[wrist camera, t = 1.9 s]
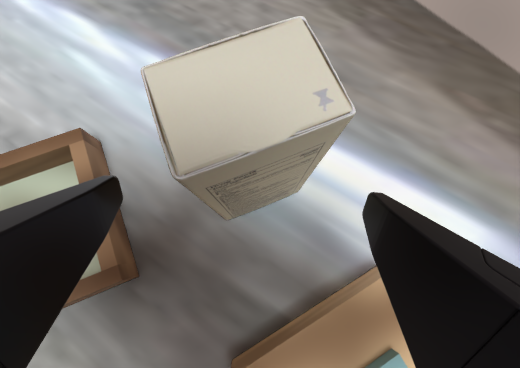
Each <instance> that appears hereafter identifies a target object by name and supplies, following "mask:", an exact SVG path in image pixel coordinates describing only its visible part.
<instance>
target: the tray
mask: <svg viewBox="0 0 520 368" xmlns="http://www.w3.org/2000/svg"><path fill="white" fill-rule="evenodd" d="M104 175H107V176H110V173H109V170H108V166H107V163H106V159H105V156H104V152H103V149H102V145H101V142H100V141H98V140H97V139H95V138H94V137H93V136H91V135H90V134H88V133H87V132H86V131H84V130H83V129H81V128H78V129H75V130H72V131H69V132H66V133H63V134H60V135H57V136H54V137H51V138H48V139H45V140H42V141H39V142H36V143H33V144H30V145H27V146H24V147H21V148H18V149H15V150H12V151H9V152H6V153H3V154H0V211H2V210H5V209H8V208H10V207H13V206H16V205H19V204H22V203H25V202H28V201H31V200H34V199H37V198H40V197H42V196H45V195H48V194H51V193H54V192H57V191H60V190H63V189H66V188H69V187H72V186H74V185H77V184H80V183H83V182H86V181H89V180H92V179H95V178H98V177H101V176H104ZM136 277H139V274H138V270H137V267H136V263H135V260H134V256H133V253H132V249H131V246H130V242H129V239H128V235H127V232H126V229H125V225H124V222H123V218H122V215H121V211H120V208H119V210H118V212H117V214H116V217H115V219H114V221H113V223H112V225H111V227H110V230H109V232H108V234H107V236H106V238H105V239H104V241H103V243H102V244H101V246H100V248H99V249H98V251H97V253H96V254H95V256H94V258H93V259H92V261H91V262H90V264H89V266H88V267H87V269H86V271H85V272H84V274H83V276H82V277H81V279H80V280H79V282H78V284H77V285H76V287H75V289H74V290H73V292H72V294H71V295H70V297H69V298H68V300H67V302H66V303H65V305H64V307H63V308H65V307H67V306H70V305H72V304H74V303H77V302H79V301H82V300H84V299H86V298H89V297H91V296H94V295H96V294H98V293H101V292H103V291H105V290H108V289H110V288H113V287H115V286H117V285H120V284H122V283H125V282H127V281H129V280H132V279H134V278H136ZM63 308H62V309H63Z"/></svg>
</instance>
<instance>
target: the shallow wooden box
mask: <svg viewBox="0 0 520 368" xmlns="http://www.w3.org/2000/svg"><path fill="white" fill-rule="evenodd" d="M231 368H415V365H414V362H413V360H412V357H411V355H410V352H409V349H408V347H407V344H406V341H405V339H404V336H403V334H402V331H401V328H400V326H399V323H398V320H397V318H396V315H395V313H394V310H393V307H392V305H391V302H390V299H389V297H388V294H387V292H386V289H385V286H384V284H383V281H382V279H381V276H380V273H379V271H378V268H377V266H376V267H374V268H373V269H371V270H370V271H368V272H367V273H365V274H364V275H362V276H360V277H359V278H357V279H356V280H354V281H353V282H351V283H350V284H348V285H347V286H345V287H344V288H342V289H340V290H339V291H337V292H336V293H334V294H333V295H331V296H330V297H328V298H327V299H325V300H324V301H322V302H321V303H319V304H317V305H316V306H314V307H313V308H311V309H310V310H308V311H307V312H305V313H304V314H302V315H301V316H299V317H297V318H296V319H294V320H293V321H291V322H290V323H288V324H287V325H285V326H284V327H282V328H281V329H279V330H278V331H276V332H274V333H273V334H271V335H270V336H268V337H267V338H265V339H264V340H262V341H261V342H259V343H258V344H256V345H255V346H253V347H251V348H250V349H248V350H247V351H245V352H244V353H242V354H241V355H239V356H238V357H236V358H235V359H233V360H232V365H231Z"/></svg>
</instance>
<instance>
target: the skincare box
mask: <svg viewBox="0 0 520 368" xmlns="http://www.w3.org/2000/svg"><path fill="white" fill-rule="evenodd" d="M141 75H142V78H143V81H144V84H145V88H146V92H147V96H148V99H149V103H150V107H151V110H152V114H153V118H154V121H155V124H156V127H157V131H158V133H159V137H160V141H161V144H162V147H163V150H164V153H165V156H166V159H167V163H168V166H169V169H170V172H171V174H172V176H173V178H174V179H176V180H177V181H178V182H179V183H181V184H182V185H183V186H184V187H186V188H187V189H188V190H189V191H191V192H192V193H193V194H194V195H196V196H197V197H198V198H199V199H201V200H202V201H203V202H204V203H206V204H207V205H208V206H209V207H211V208H212V209H213V210H214V211H216V212H217V213H218V214H219V215H221V216H222V217H223V218H224V219H225V220H229V219H232V218H235V217H238V216H241V215H243V214H246V213H249V212H251V211H254V210H256V209H259V208H261V207H264V206H266V205H269V204H271V203H274V202H276V201H278V200H281V199H283V198H285V197H288V196H290V195H292V194H294V193H296V192H298V191H299V190H300V188H301V187H302V185H303V184H304V183H305V181H306V180H307V179H308V177H309V176H310V175H311V173H312V172H313V170H314V169H315V168H316V166H317V165H318V164H319V162H320V161H321V160H322V158H323V157H324V156H325V154H326V153H327V152H328V150H329V149H330V147H331V146H332V145H333V143H334V142H335V141H336V139H337V138H338V137H339V135H340V134H341V132H342V131H343V130H344V128H345V127H346V125H347V124H348V123H349V122H350V120H351V119H352V118H353V116H354V115H355V113H356V110H355V108H354V106H353V104H352V102H351V100H350V99H349V97H348V95H347V93H346V91H345V89H344V87H343V85H342V83H341V81H340V79H339V77H338V75H337V73H336V72H335V70H334V68H333V66H332V65H331V62H330V61H329V59H328V57H327V55H326V53H325V51H324V50H323V48H322V46H321V44H320V42H319V40H318V39H317V37H316V35H315V34H314V32H313V31H312V30H311V28H310V26H309V24H308V22H307V21H306V19H305V18H304V17H303V16H297V17H294V18H291V19H287V20H283V21H279V22H276V23H273V24H269V25H266V26H262V27H259V28H256V29H252V30H250V31H247V32H243V33H240V34H237V35H235V36H231V37H228V38H225V39H222V40H219V41H216V42H213V43H210V44H207V45H204V46H201V47H198V48H196V49H193V50H189V51H186V52H183V53H181V54H178V55H176V56H173V57H169V58H167V59H164V60H162V61H159V62H156V63H153V64H150V65H147V66H144V67H142V68H141Z"/></svg>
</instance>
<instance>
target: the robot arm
mask: <svg viewBox="0 0 520 368" xmlns="http://www.w3.org/2000/svg"><path fill="white" fill-rule="evenodd" d="M122 201H123V195H122V191H121V187H120V183H119V180H118V178H117V177H116V176H107V175H104V176H101V177H98V178H95V179H92V180H89V181H86V182H83V183H80V184H77V185H74V186H72V187H69V188H66V189H63V190H60V191H57V192H54V193H51V194H48V195H45V196H42V197H40V198H37V199H34V200H31V201H28V202H25V203H22V204H19V205H16V206H13V207H10V208H8V209H5V210H2V211H0V368H26V367H27V366H28V364H29V362H30V361H31V359H32V357H33V356H34V354H35V352H36V351H37V349H38V348H39V346H40V344H41V343H42V341H43V339H44V338H45V336H46V334H47V333H48V331H49V330H50V328H51V326H52V325H53V323H54V321H55V320H56V318H57V316H58V315H59V313H60V312H61V310H62V308H63V307H64V305H65V303H66V302H67V300H68V298H69V297H70V295H71V294H72V292H73V290H74V289H75V287H76V285H77V284H78V282H79V280H80V279H81V277H82V276H83V274H84V272H85V271H86V269H87V267H88V266H89V264H90V262H91V261H92V259H93V258H94V256H95V254H96V253H97V251H98V249H99V248H100V246H101V244H102V243H103V241H104V239H105V238H106V236H107V234H108V232H109V230H110V227H111V225H112V223H113V221H114V219H115V217H116V214H117V212H118V210H119V208H120V206H121V204H122ZM363 220H364V224H365V228H366V232H367V236H368V240H369V244H370V248H371V252H372V255H373V257H374V260H375V263H376V265H377V268H378V271H379V273H380V276H381V279H382V281H383V284H384V286H385V289H386V292H387V294H388V297H389V299H390V302H391V305H392V307H393V310H394V313H395V315H396V318H397V320H398V323H399V326H400V328H401V331H402V334H403V336H404V339H405V341H406V344H407V347H408V349H409V352H410V355H411V357H412V360H413V362H414V365H415V368H520V268H518V267H516V266H514V265H512V264H511V263H509V262H507V261H505V260H503V259H501V258H499V257H498V256H496V255H494V254H492V253H490V252H488V251H487V250H485V249H481V248H480V247H479V246H477V245H476V244H474V243H472V242H470V241H468V240H467V239H465V238H463V237H461V236H459V235H457V234H456V233H454V232H452V231H450V230H448V229H447V228H445V227H443V226H441V225H439V224H438V223H436V222H434V221H432V220H430V219H428V218H427V217H425V216H423V215H421V214H419V213H418V212H416V211H414V210H412V209H410V208H408V207H407V206H405V205H403V204H401V203H399V202H398V201H396V200H394V199H392V198H390V197H389V196H387V195H385V194H383V193H376V192H371V193H370V194H369V195H368V197H367V200H366V203H365V206H364V209H363Z"/></svg>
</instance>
